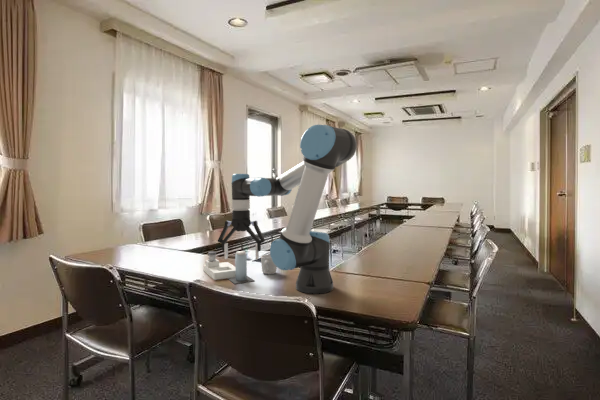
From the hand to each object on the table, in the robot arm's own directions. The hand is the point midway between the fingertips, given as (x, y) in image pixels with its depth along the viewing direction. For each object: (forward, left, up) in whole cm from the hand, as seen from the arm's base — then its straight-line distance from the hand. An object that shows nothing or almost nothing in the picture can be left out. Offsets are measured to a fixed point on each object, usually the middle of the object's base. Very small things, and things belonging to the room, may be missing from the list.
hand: (241, 258), depth 150 cm
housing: (+15, +4, -9) cm, 19 cm away
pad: (0, 0, -9) cm, 10 cm away
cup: (+4, -15, -10) cm, 18 cm away
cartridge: (0, 0, -9) cm, 9 cm away
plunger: (+20, +7, -6) cm, 22 cm away
